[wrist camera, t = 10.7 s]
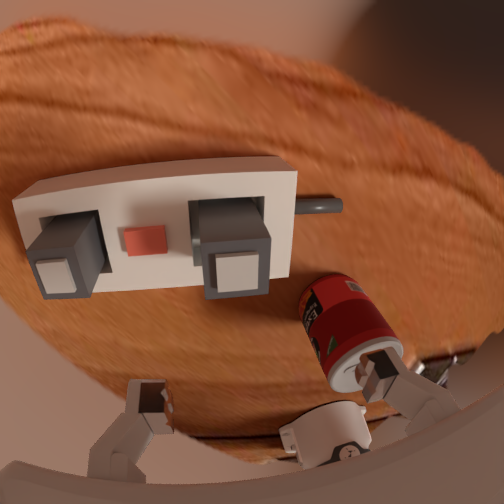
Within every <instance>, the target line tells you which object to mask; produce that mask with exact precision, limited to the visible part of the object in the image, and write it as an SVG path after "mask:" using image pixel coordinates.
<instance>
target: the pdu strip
mask: <svg viewBox="0 0 504 504" xmlns="http://www.w3.org/2000/svg"><path fill="white" fill-rule="evenodd" d="M296 185H297V170H295V169H294V168H293V167H292V166H290V165H289V164H288V163H287V162H286V161H284V160H283V159H282V158H281V157H279V156H257V157H226V158H206V159H191V160H178V161H167V162H156V163H146V164H138V165H129V166H121V167H114V168H107V169H100V170H93V171H87V172H81V173H75V174H69V175H64V176H58V177H53V178H48V179H43V180H38V181H37V182H36V183H34V184H33V185H31V186H30V187H29V188H27V189H26V190H25V191H23V192H22V193H21V194H19V195H18V196H17V197H15V198H14V199H13V200H12V203H13V207H14V211H15V215H16V218H17V222H18V225H19V229H20V232H21V236H22V239H23V242H24V245H25V248H26V251H25V252H26V255H27V257H28V260H29V263H30V266H31V268H32V271H33V274H34V276H35V279H36V281H37V284H38V286H39V289H40V291H41V293H42V296H43V298H44V299H72V298H90V297H91V294H92V292H108V291H125V290H141V289H155V288H169V287H183V286H195V285H204V281H203V270H202V259H201V247H200V229H199V207H198V200H203V199H218V198H235V197H251V199H252V200H253V202H254V204H255V206H256V208H257V210H258V212H259V214H260V216H261V218H262V220H263V222H264V224H265V226H266V228H267V230H268V232H269V234H270V236H271V238H272V239H271V258H270V276H269V279H274V278H284V277H289V269H290V258H291V248H292V236H293V224H294V215H295V214H318V213H341V212H342V209H343V202H342V200H341V198H312V199H296Z"/></svg>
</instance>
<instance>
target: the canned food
mask: <svg viewBox="0 0 504 504" xmlns="http://www.w3.org/2000/svg"><path fill="white" fill-rule="evenodd" d="M299 316H300V318H301V321H302V323H303V325H304V328H305V330H306V332H307V334H308V337H309V339H310V341H311V344H312V346H313V348H314V351H315V353H316V355H317V358H318V360H319V362H320V365H321V367H322V369H323V372H324V374H325V376H326V378H327V380H328V382H329V384H330V386H331V387H332V389H333V390H335V391H337V392H343V393H347V392H354V391H358V390H361V389H363V387H361V386H359V385H358V383H357V381H356V378H355V368H356V365H358V364H359V363H360V360H359V358H360V355H361V354H363V353H366V352H370V351H374V350H378V349H383V348H386V347H390V346H392V347H393V348H394V349H395V350H396V352H397V354H398V355H399V357H400V358H402V355H403V347H402V345H401V343H400V341H399V339H398V338H397V336H396V335H395V333H394V332H393V330H392V329H391V327H390V326H389V325H388V323H387V322H386V320H385V319H384V318H383V316H382V315H381V314H380V312H379V311H378V309H377V308H376V307H375V305H374V304H373V303H372V301H371V300H370V299H369V297H368V296H367V295H366V293H365V292H364V291H363V289H362V288H361V287H360V285H359V284H358V283H357V282H356V281H355V280H353V279H352V278H350V277H348V276H346V275H341V274H334V275H329V276H325V277H323V278H320V279H318V280H317V281H315V282H314V283H312V284H311V285H310V286H309V287H308V288H307V289H306V290H305V291H304V292H303V294H302V296H301V298H300V301H299Z"/></svg>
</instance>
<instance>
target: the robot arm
mask: <svg viewBox="0 0 504 504" xmlns="http://www.w3.org/2000/svg"><path fill="white" fill-rule="evenodd" d="M359 360H360V363H359V364H358V365H356V368H355V378H356V381H357V383H358V385H359V386H361V387H363V390H362V394H363V396H364V398H365V400H366V402H367V403H371V402H374V401H378V400H381V399H383V400H384V401H385V402H387V403H388V404H389V405H391V406H392V407H393V408H395V409H396V410H397V411H399V412H400V413H401V414H403V415H404V416H405V417H407V418H408V419H409V420H411V422H410V423H409V424H408V426H407V427H406V428H405V432H406V434H407V436H408V437H405V438H403V439H401V440H398V441H396V442H393V443H391V444H388V445H385V446H383V447H380V448H377V449H375V450H372V451H370V450H369V449H368V446H369V444H370V442H371V436H370V433H369V430H368V427H367V425H366V422H365V419H364V416H363V415H364V414H365V413H366V408H365V407H364V406H358V405H357V404H356V403H354V402H352V401H341V402H335V403H331V404H327V405H324V406H321V407H319V408H316V409H314V410H312V411H310V412H308V413H306V414H304V415H302V416H301V417H299V418H298V419H296V420H295V421H294V422H292V423H290V424H287V425H285V426H283V427H281V428H279V433H280V436H281V440H282V443H283V446H284V449H285V452H286V453H296V456H297V459H298V462H299V465H300V466H301V467H302V468H304V469H305V470H302V471H297V472H293V473H288V474H283V475H277V476H271V477H265V478H259V479H251V480H242V481H233V482H222V483H207V484H146V475H145V474H144V473H143V472H142V471H141V470H140V469H139V468H138V467H137V466H136V465H135V464H136V463H137V461H138V460H139V458H140V457H141V455H142V453H143V452H144V450H145V449H146V447H147V446H148V444H149V443H150V441H151V440H152V438H153V436H154V434H174V420H173V417H172V415H171V414H172V412H173V411H174V405H173V397H172V393H171V390H170V389H169V384H168V381H167V379H130V381H129V383H128V391H127V399H126V408H125V413H121V414H120V415H119V417H118V418H117V419H116V420H115V421H114V422H113V423H112V425H111V426H110V427H109V428H108V429H107V430H106V432H105V433H104V434H103V435H102V436H101V437H100V438H99V440H98V441H97V442H96V443H95V444H94V445H93V446H92V448H91V449H90V454H89V462H88V472H87V477H84V476H78V475H73V474H68V473H63V472H59V471H55V470H50V469H46V468H42V467H38V466H35V465H32V464H28V463H25V462H22V461H16V460H15V461H12V462H11V463H9V464H8V465H6V466H5V467H4V468H3V469H2V470H1V471H0V504H504V384H502V385H500V386H499V387H497V388H496V389H494V390H493V391H491V392H490V393H488V394H487V395H485V396H483V397H482V398H480V399H479V400H477V401H475V402H474V403H472V404H470V405H469V406H467V407H465V408H464V409H462V410H461V409H460V408H459V406H458V404H457V403H456V401H455V400H454V398H453V397H452V395H451V394H450V392H449V391H448V390H446V389H444V388H443V387H441V386H439V385H437V384H435V383H433V382H431V381H430V380H428V379H426V378H424V377H422V376H420V375H419V374H417V373H415V372H413V371H409V370H408V369H407V367H406V366H405V364H404V363H403V361H402V360H401V358H400V357H399V355H398V354H397V352H396V350H395V349H394V348H393V347H392V346H390V347H386V348H383V349H378V350H374V351H370V352H366V353H363V354H361V355H360V358H359Z"/></svg>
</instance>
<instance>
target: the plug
mask: <svg viewBox="0 0 504 504" xmlns="http://www.w3.org/2000/svg"><path fill="white" fill-rule="evenodd" d="M198 207H199V229H200V247H201V259H202V270H203V281H204V291H205V300H209V299H220V298H231V297H242V296H252V295H262V294H269V276H270V258H271V239H272V238H271V236H270V234H269V232H268V230H267V228H266V226H265V224H264V222H263V220H262V218H261V216H260V214H259V212H258V210H257V208H256V206H255V204H254V202H253V200H252V199H251V197H235V198H218V199H203V200H198Z"/></svg>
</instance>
